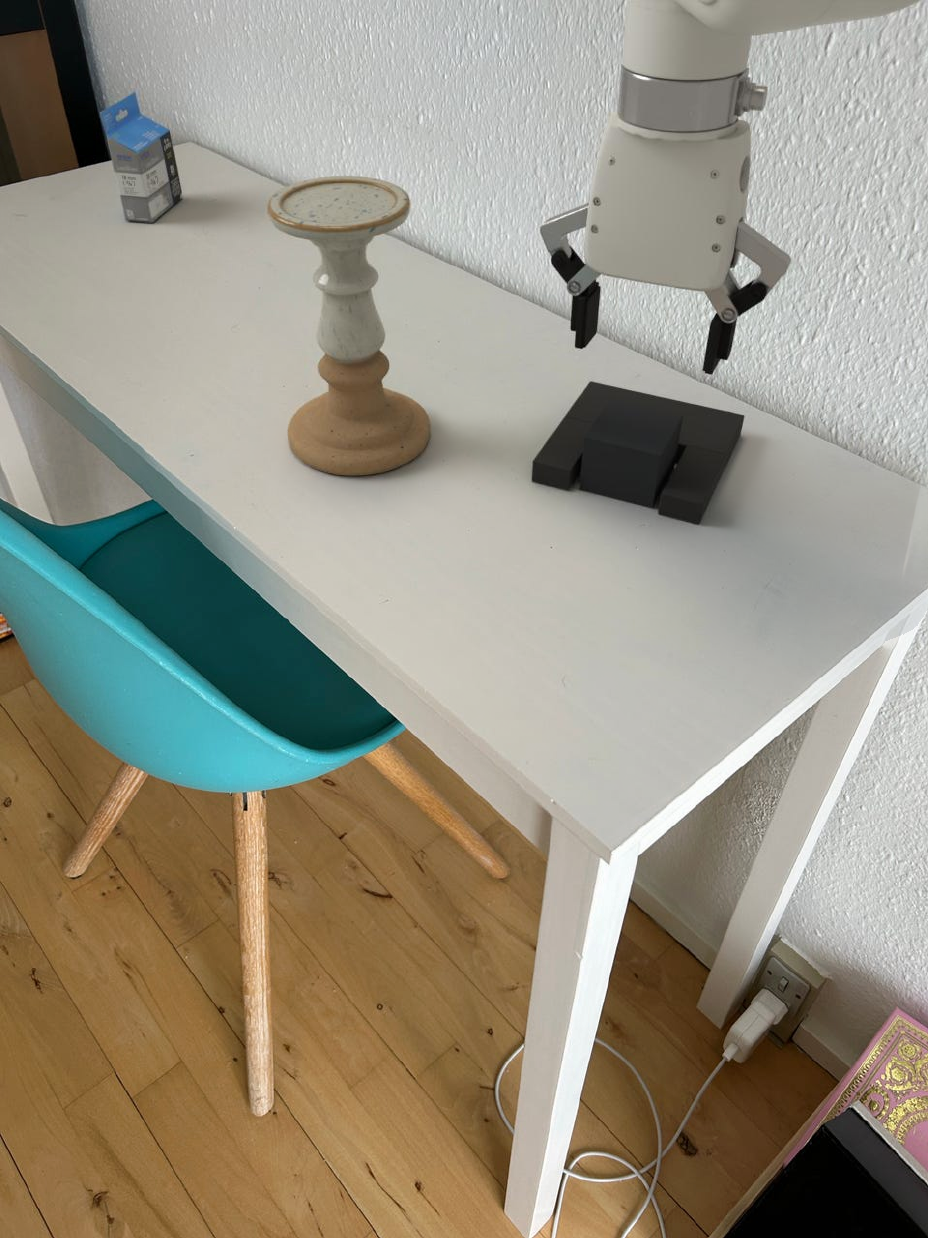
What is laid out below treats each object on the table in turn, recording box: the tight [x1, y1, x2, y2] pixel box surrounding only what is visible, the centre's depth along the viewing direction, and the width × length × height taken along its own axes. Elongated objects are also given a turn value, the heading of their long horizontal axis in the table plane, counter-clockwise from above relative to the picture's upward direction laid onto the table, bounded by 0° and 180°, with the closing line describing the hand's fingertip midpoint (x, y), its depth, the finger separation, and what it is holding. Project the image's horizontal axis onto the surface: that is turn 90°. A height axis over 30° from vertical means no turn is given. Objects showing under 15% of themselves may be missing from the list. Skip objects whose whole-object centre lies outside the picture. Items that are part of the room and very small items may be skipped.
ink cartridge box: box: [99, 91, 184, 224], centre depth 119 cm, size 9×4×12 cm, turn 167°
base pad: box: [531, 380, 745, 525], centre depth 82 cm, size 14×14×2 cm
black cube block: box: [578, 399, 683, 509], centre depth 78 cm, size 6×6×5 cm
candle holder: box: [267, 175, 431, 476], centre depth 78 cm, size 12×12×20 cm
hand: (647, 353), depth 72 cm, fingers open, 9 cm apart
